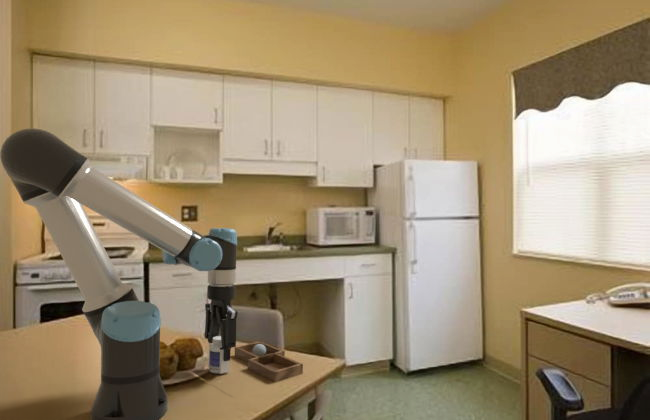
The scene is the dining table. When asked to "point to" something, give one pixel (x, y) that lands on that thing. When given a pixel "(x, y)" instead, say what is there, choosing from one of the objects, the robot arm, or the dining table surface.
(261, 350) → the ball
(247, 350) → the cradle
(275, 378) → the cradle
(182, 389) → the dining table surface
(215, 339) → the pill bottle
